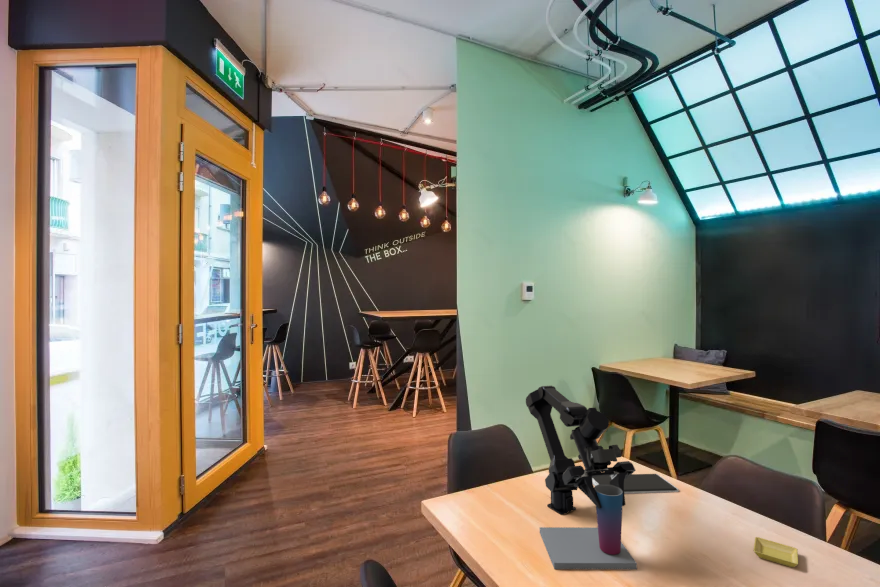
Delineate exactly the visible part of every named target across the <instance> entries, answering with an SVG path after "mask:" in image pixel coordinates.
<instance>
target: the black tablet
mask: <svg viewBox="0 0 880 587" xmlns="http://www.w3.org/2000/svg"><path fill="white" fill-rule="evenodd" d="M611 480H612V479H611V477H610V475H608V476H598V477H592V482H593V486H594V487H595V486H596V485H599V484H610V481H611ZM610 485H611V484H610ZM679 491H680V490H679V488H678V487H676V486H675V485H674V484H672V483H671V482H670V481H669V480H667V479H665V478H664V477H663V476H661V475H660V474H658V473H638V474H637V473H632V474H631V475H630V476H629V477H628V478H626V479H624V495H626V494H627V495H629V494H657V493H659V494H660V493H661V494H662V493H679Z"/></svg>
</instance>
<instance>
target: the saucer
mask: <svg viewBox="0 0 880 587" xmlns="http://www.w3.org/2000/svg"><path fill="white" fill-rule="evenodd" d="M753 552H754V553H755V555H756V556H757V557H758V558H760V559H763V560H765V561H769V562H773V563H775V564H776V563H777V564H779V565H783V566H785V567H789V568H795V567H797V566H798V565H799V555H798V552H799V551H798V548H796V547H793V546H790V545H786V544H783V543H780V542H776V541H773V540H768V539H766V538H762V537H758V536H756V537H754V545H753Z"/></svg>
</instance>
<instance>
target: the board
mask: <svg viewBox="0 0 880 587" xmlns="http://www.w3.org/2000/svg"><path fill="white" fill-rule="evenodd" d="M539 535H540V537H541V539H542V542H543V544H544V547H545V549H546V551H547V552H546V553H547V554H548V557H549V559H550V562H551V564H552V566H553V569H554V570H638V563H637V561H636V560H635V559H634V557H633V556H632V555H631V553H630V551H629V550H628V549H627V548H626V546H625V545H624V543H623V542H622V541H621V551H620V553H619V554H615V555H612V554H607V553H605V552H603V551H602V550H601V549H600V547H599V535H598V526H597V527H594V526H593V527H592V526H591V527H585V526H584V527H574V526H573V527H566V526H563V527H560V526H558V527H557V526H555V527H553V526H552V527H545V526H544V527H541V526H540V527H539Z"/></svg>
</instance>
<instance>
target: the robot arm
mask: <svg viewBox="0 0 880 587" xmlns="http://www.w3.org/2000/svg"><path fill="white" fill-rule="evenodd" d="M525 404H526V407H527V408H528V411H529V412H530V415H531V416H533V417H534V418H535V419H536V420H537V423H538V427H539V429H540V432H541V436H542V438H543V441H544V445H545V448H546V450H547V453H548V454H547V455H548V457H549V460H550V462H549V467H548V475H546V477H545V479H544V482H545V487H546V488H547V489H548V491H550V503H548V504H546V505H547V507H548V508H550V509H551V510H553V511H555V512H556V513H557V514H560V515H561V516H562V515H565V514H568V513H572V512H573V511H574V512H575V511H576V510H577V507H576V506H574V495H573V491H577V490H578V489H579V490H580V491H581V492H582V493H583V494H584V495H585V496H587V498H588V499H589V500H590V502H592V504H593V505H594V506H595V507H596V506H597V508H598V509H600V508H601V504H600V501H599V498H598V496H597V493H596V491H595V488H594V487H595V486H594V485H593V482H592V477H598V476H608V475H610V477H611V479H612V480H611V481H610V484H611V485H614V486H617V487H619V488H620V489H622V491H623V502H622V507H625V506H626V498H625V495H626V494H624V479H626V478H628V477H629V476H630V475H631V474H634V473H635V472H636V467H635V466H634V464H633V462H631V461H629V460H625V461H618V459H617V458H622V451H621V449H620V447H619V445H618V444H612V445H611V444H610V445H608V448H606V449H605V448H604V447H603V446H602V445H599V444H598V441H597V440H598V439H599V438H600V437H601V436H602V435H603V434H604V433H605V431H606V430H607V429H608V427H610V426H609V425H610V421H609V418H608V417H607V416H606V415H605V414H604V413H602V412H601V411H598V409H597V408H596V407H588V408H587V407H586V406H585V405H583V404H581V403H579V402H573V401H571V400H569V399H568V398H566V396H564V395H563V394H562V393H560V392H559V391H558V390H557V389H556V387H555V386H553V385H542V386H540V387H538V388H537V389H535V390H534V391H532V392H530V393H528V395H527V396H526V398H525ZM553 408H554V409H555V410H556V411H557V412H558V413H559V419H560V421H561V422H562V423H563V425H564V426H565V427H569V428H570V427H575V428H574V429H571V432H570V434H569V439H570V440H573V441H574V444H575V445H576V448H577V451H578V456H577V458H578V460H581V462H582V463H583V464H582V465H583V466H582V465H576V464H575V461H574V459H573V457H572V458H571V457H570V458H568V457H567V456H566V455H565V454H566V453H565V451H564V449H563V446H562V444H561V440H560V437H559V434H558V432H557V428H556V425H555V424H554V419H553V418H552V414H551V413H552V410H553ZM612 462H613V463H614V462H616V463H615V464H614V465H613V466H610V465H612ZM608 466H610V467H608Z"/></svg>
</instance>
